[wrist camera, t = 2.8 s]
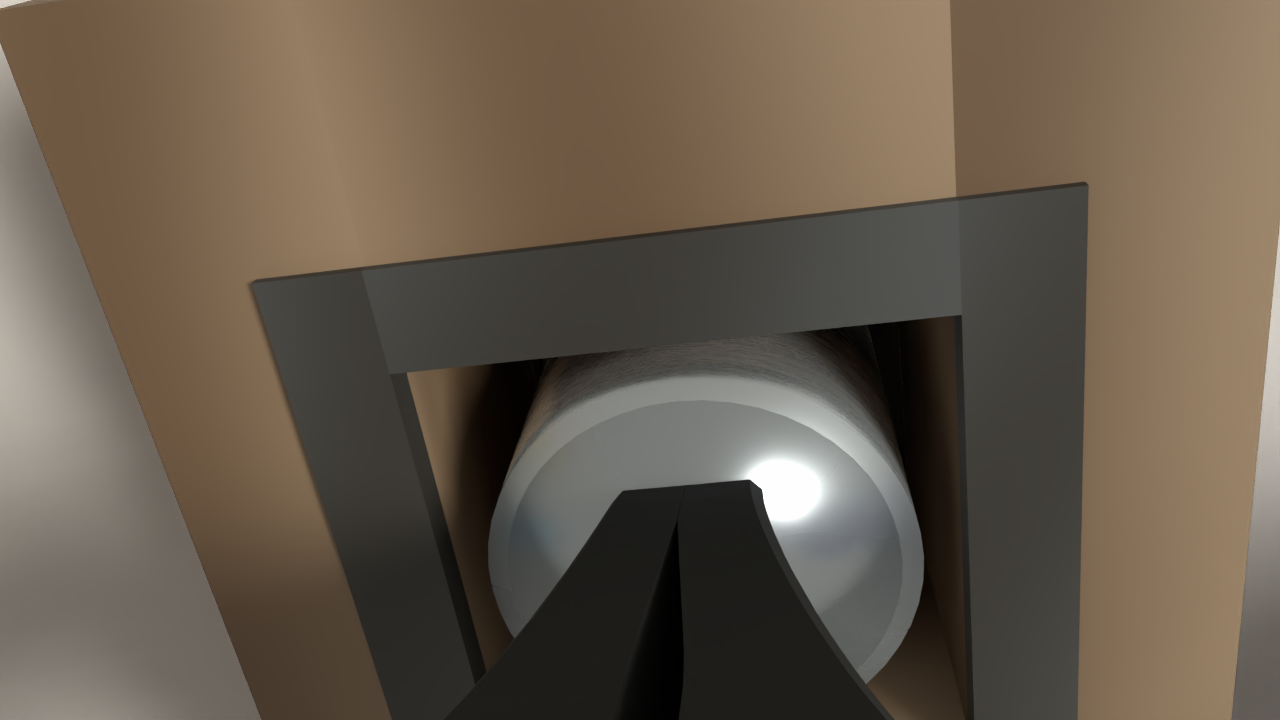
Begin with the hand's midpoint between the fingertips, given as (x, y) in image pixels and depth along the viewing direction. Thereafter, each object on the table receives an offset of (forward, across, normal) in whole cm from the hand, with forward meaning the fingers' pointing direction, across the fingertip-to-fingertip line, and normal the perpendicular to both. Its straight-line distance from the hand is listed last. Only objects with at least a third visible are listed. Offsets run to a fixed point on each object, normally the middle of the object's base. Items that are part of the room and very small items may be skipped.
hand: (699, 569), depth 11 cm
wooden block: (+5, 0, +6) cm, 8 cm away
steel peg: (+5, 0, 0) cm, 5 cm away
